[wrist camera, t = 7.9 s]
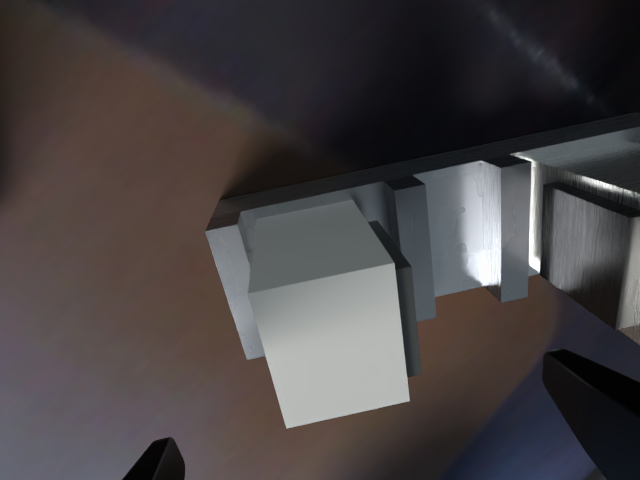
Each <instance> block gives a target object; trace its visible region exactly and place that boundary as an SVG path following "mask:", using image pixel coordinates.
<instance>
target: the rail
mask: <svg viewBox="0 0 640 480" xmlns="http://www.w3.org/2000/svg"><path fill="white" fill-rule="evenodd" d="M348 200H353V201H354V202H355V204H356V205H357V207H358V208H359V210H360V211H361V213H362V214H363V216H364V217H365V219H366V221H367V222H371V221H375V220H378V222H379V223H380V224H381V226H382V227H383V228H384V230H385V231H386V233H387V234H388V235H389V237H390V238H391V239H392V241H393V242H394V243H395V245H396V246H397V247H398V249H399V250H400V251H401V253H402V254H403V256H404V257H405V258H406V260H407V261H408V262H409V264H410V265H411V266H412V276H413V287H414V298H415V309H416V320H417V322H418V321H423V320H427V319H431V318H436V307H435V297H437V296H442V295H446V294H451V293H455V292H460V291H464V290H469V289H473V288H477V287H482V286H484V287H485V288H486V289H487V290H489V291H490V292H491V293H492V294H493V295H494V296H495V297H496V298H497V299H498V300H499V301H500V302H501V303H503V302H507V301H512V300H516V299H521V298H525V297H528V276H531V275H536V274H540V275H541V276H542V277H544V278H545V279H546V280H548V281H549V282H551V283H552V284H553V285H555V286H556V287H557V288H559V289H560V290H561V291H563V292H564V293H566V294H567V295H568V296H570V297H571V298H572V299H574V300H575V301H576V302H578V303H579V304H581V305H582V306H583V307H585V308H586V309H587V310H589V311H590V312H591V313H593V314H594V315H595V316H597V317H598V318H600V319H601V320H602V321H604V322H605V323H606V324H608V325H609V326H610V327H612V328H613V329H615V330H617V329H619V330H620V331H621V332H623V333H624V334H626V335H627V336H628V337H630V338H631V339H632V340H634V341H635V342H637V343H638V344H639V345H640V113H637V112H634V113H629V114H624V115H619V116H615V117H610V118H605V119H600V120H596V121H591V122H586V123H581V124H577V125H572V126H567V127H563V128H558V129H553V130H548V131H544V132H539V133H534V134H529V135H525V136H520V137H515V138H511V139H506V140H501V141H496V142H492V143H487V144H482V145H477V146H473V147H468V148H463V149H459V150H454V151H449V152H444V153H440V154H435V155H430V156H425V157H421V158H416V159H411V160H406V161H402V162H397V163H392V164H388V165H383V166H378V167H373V168H369V169H364V170H359V171H354V172H350V173H345V174H340V175H336V176H331V177H326V178H321V179H317V180H312V181H307V182H302V183H298V184H293V185H288V186H284V187H279V188H274V189H269V190H265V191H260V192H255V193H250V194H246V195H241V196H236V197H231V198H227V199H222V200H219V201H218V204H217V206H216V208H215V210H214V213H213V215H212V217H211V219H210V222H209V224H208V226H207V228H206V231H205V232H206V235H207V238H208V241H209V244H210V248H211V251H212V254H213V257H214V260H215V263H216V266H217V269H218V272H219V275H220V278H221V281H222V284H223V287H224V290H225V293H226V296H227V299H228V303H229V306H230V309H231V312H232V315H233V318H234V321H235V324H236V327H237V330H238V333H239V336H240V339H241V342H242V345H243V348H244V351H245V355H246V358H247V360H249V359H253V358H258V357H262V356H266V355H265V352H264V348H263V345H262V341H261V338H260V335H259V331H258V328H257V324H256V321H255V317H254V314H253V310H252V307H251V303H250V300H249V296H248V287H249V279H250V270H251V262H252V253H253V244H254V236H255V227H256V219H259V218H264V217H269V216H274V215H279V214H284V213H289V212H294V211H299V210H304V209H309V208H314V207H319V206H324V205H329V204H333V203H338V202H343V201H348Z"/></svg>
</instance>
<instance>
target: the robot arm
mask: <svg viewBox="0 0 640 480" xmlns="http://www.w3.org/2000/svg"><path fill="white" fill-rule="evenodd" d="M542 379H543V383H544V386H545V388H546V389H547V391H548V393H549V394H550V396H551V397H552V399H553V401H554V402H555V404H556V406H557V407H558V409H559V410H560V412H561V414H562V415H563V417H564V418H565V420H566V422H567V423H568V425H569V426H570V428H571V430H572V431H573V433H574V435H575V436H576V438H577V439H578V441H579V442H580V444H581V445H582V447H583V448H584V450H585V451H586V453H587V454H588V455H589V457H590V458H591V459H592V461H593V462H594V463H595V465H596V466H597V467H598V469H599V470H600V471H601V473H602V474H603V475H604V477H605V478H606V479H607V480H640V382H639V381H637V380H635V379H632V378H630V377H628V376H626V375H623V374H621V373H619V372H616V371H614V370H612V369H610V368H607V367H605V366H603V365H600V364H598V363H596V362H593V361H591V360H589V359H587V358H584V357H582V356H580V355H577V354H575V353H573V352H571V351H568V350H566V349H562V348H559V349H555V350H550V351H547V352H545V354H544V357H543V373H542ZM184 478H185V463H184V460H183V457H182V455H181V453H180V451H179V449H178V447H177V445H176V443H175V441H174V439H173V438H171V437H168V438H164V439H159V440H156V441H154V442H153V443H152V444H151V445H150V446H149V447H148V448H147V450H146V451H145V452H144V453H143V455H142V456H141V457H140V458H139V459H138V461H137V462H136V463H135V464H134V466H133V467H132V468H131V469H130V471H129V472H128V473H127V474H126V476H125V477H124V478H123V479H122V480H184Z"/></svg>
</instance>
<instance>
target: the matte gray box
mask: <svg viewBox="0 0 640 480" xmlns="http://www.w3.org/2000/svg"><path fill="white" fill-rule="evenodd" d="M248 296H249V300H250V303H251V307H252V310H253V314H254V317H255V321H256V324H257V328H258V331H259V335H260V338H261V341H262V345H263V348H264V352H265V355H266V359H267V362H268V366H269V369H270V373H271V376H272V380H273V383H274V387H275V390H276V394H277V397H278V401H279V404H280V408H281V411H282V415H283V418H284V422H285V425H286V428H291V427H295V426H300V425H304V424H309V423H313V422H318V421H322V420H327V419H331V418H336V417H340V416H345V415H349V414H354V413H358V412H363V411H367V410H372V409H376V408H381V407H385V406H390V405H394V404H399V403H403V402H408V401H410V399H409V390H408V381H407V377H411V376H415V375H420V374H421V364H420V353H419V342H418V331H417V320H416V309H415V298H414V287H413V276H412V266H411V265H410V264H409V262H408V261H407V260H406V258H405V257H404V256H403V254H402V253H401V251H400V250H399V249H398V247H397V246H396V245H395V243H394V242H393V241H392V239H391V238H390V237H389V235H388V234H387V233H386V231H385V230H384V228H383V227H382V226H381V224H380V223H379V222H378V220H375V221H371V222H367V221H366V219H365V217H364V216H363V214H362V213H361V211H360V210H359V208H358V207H357V205H356V204H355V202H354V201H353V200H348V201H343V202H338V203H333V204H329V205H324V206H319V207H314V208H309V209H304V210H299V211H294V212H289V213H284V214H279V215H274V216H269V217H264V218H259V219H256V227H255V236H254V244H253V253H252V262H251V270H250V279H249V287H248Z"/></svg>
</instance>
